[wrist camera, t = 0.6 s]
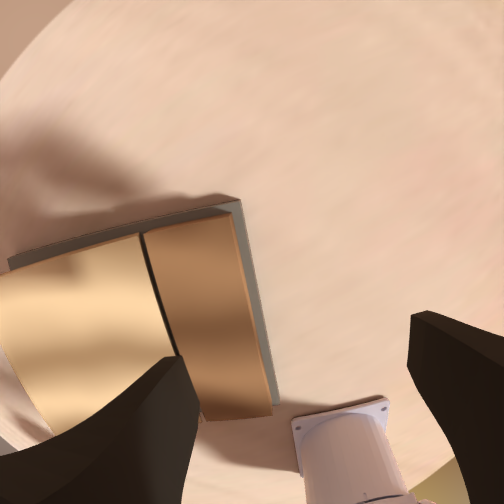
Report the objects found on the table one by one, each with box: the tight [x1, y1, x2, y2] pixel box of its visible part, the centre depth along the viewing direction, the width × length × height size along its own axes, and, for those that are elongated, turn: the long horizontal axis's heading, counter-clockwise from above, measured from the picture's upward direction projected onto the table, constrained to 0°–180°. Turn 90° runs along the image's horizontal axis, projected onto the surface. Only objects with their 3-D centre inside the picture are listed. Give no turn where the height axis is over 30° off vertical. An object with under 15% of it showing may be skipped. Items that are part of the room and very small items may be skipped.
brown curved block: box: [143, 212, 273, 421], centre depth 17 cm, size 13×4×2 cm, turn 11°
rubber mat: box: [7, 199, 280, 412], centre depth 19 cm, size 14×18×1 cm
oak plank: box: [0, 232, 202, 436], centre depth 16 cm, size 13×11×2 cm
